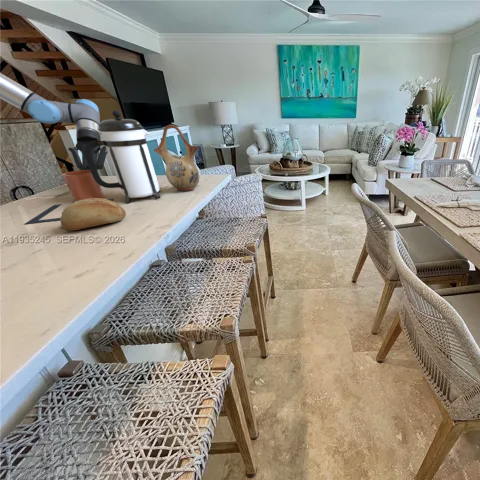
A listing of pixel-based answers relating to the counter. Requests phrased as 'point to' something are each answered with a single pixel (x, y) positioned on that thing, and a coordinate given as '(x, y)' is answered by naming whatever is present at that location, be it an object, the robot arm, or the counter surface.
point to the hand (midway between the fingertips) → (90, 184)
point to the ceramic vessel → (179, 164)
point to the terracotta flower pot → (82, 185)
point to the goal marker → (36, 219)
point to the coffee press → (126, 158)
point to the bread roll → (91, 213)
